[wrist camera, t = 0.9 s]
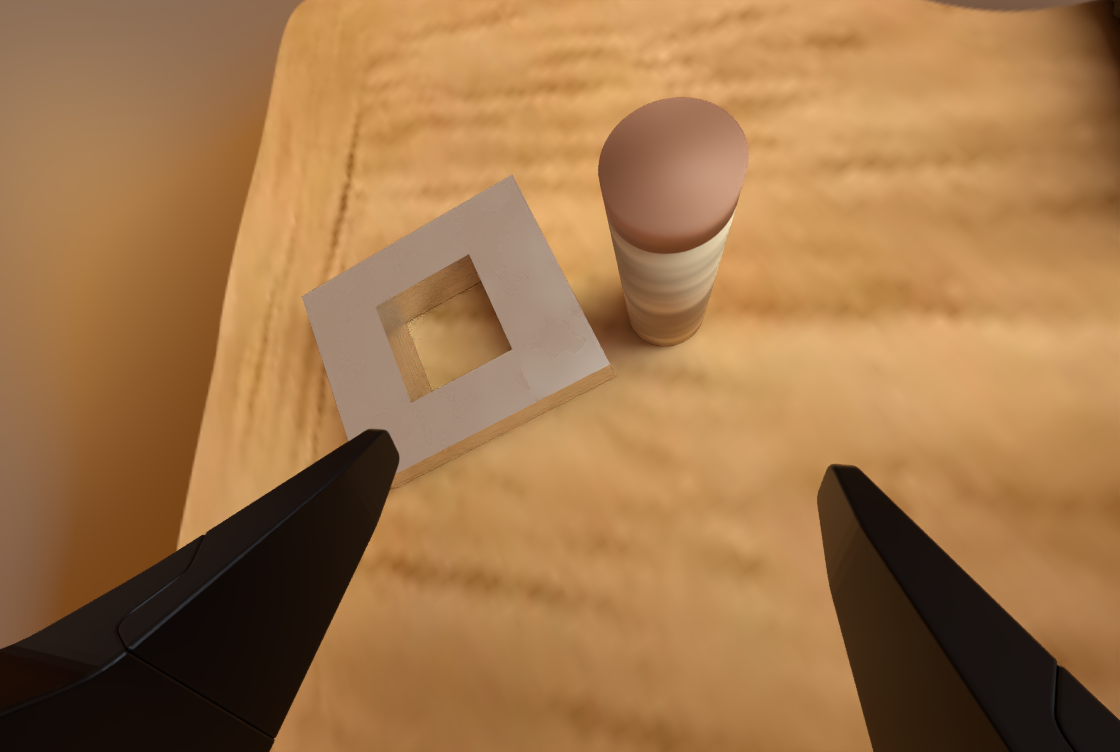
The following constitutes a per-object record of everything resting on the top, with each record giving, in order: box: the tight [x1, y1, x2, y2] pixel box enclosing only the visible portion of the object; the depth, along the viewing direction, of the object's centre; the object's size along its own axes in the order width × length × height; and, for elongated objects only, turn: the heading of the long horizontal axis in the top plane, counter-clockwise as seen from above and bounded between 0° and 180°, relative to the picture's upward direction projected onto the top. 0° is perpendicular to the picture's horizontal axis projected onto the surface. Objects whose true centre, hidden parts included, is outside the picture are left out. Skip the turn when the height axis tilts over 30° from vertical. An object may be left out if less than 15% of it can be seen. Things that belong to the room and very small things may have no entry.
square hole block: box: [302, 175, 616, 488], centre depth 25 cm, size 12×14×3 cm
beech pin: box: [598, 97, 749, 346], centre depth 18 cm, size 4×4×12 cm
